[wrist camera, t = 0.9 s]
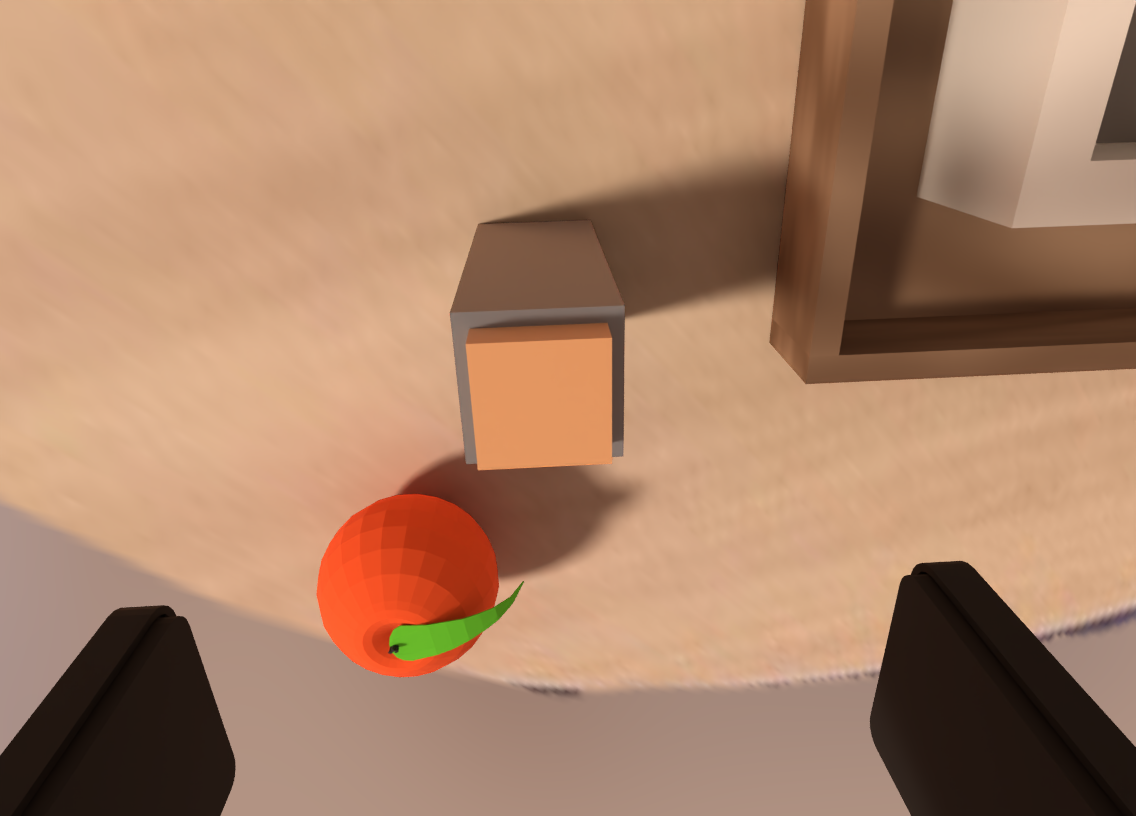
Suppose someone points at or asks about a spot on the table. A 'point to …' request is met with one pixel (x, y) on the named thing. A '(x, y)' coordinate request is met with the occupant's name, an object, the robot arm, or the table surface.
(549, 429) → the plug
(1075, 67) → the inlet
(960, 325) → the crate
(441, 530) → the clementine
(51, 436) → the table surface
